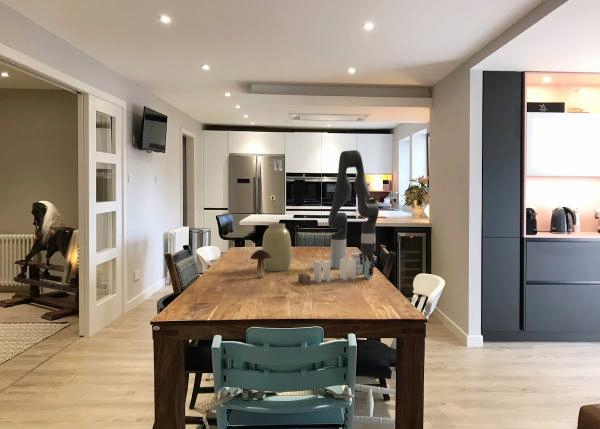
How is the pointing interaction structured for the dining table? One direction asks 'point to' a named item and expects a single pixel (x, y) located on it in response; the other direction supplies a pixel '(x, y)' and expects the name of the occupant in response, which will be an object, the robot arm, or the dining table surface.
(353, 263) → the domino
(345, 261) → the domino
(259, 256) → the decorative mushroom
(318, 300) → the dining table surface
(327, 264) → the domino
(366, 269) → the domino
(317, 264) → the domino
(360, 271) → the ink box
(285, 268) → the vase
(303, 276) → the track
